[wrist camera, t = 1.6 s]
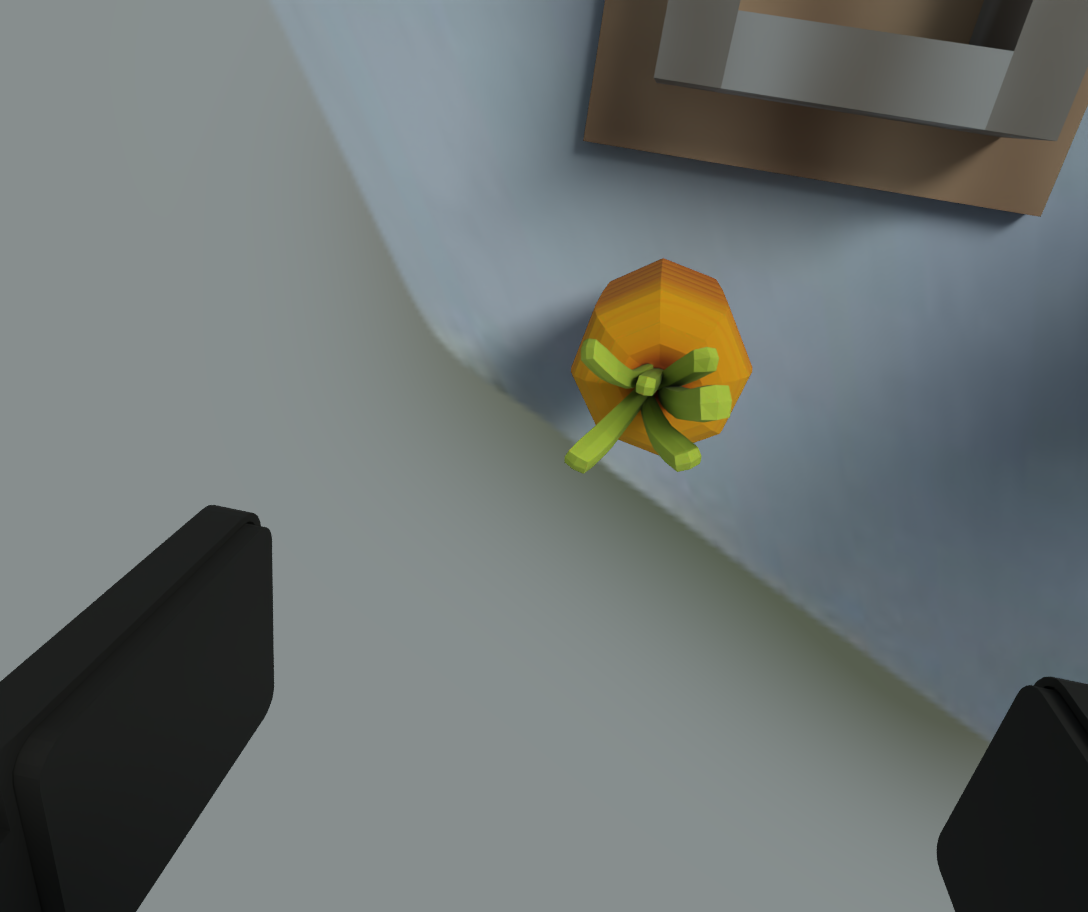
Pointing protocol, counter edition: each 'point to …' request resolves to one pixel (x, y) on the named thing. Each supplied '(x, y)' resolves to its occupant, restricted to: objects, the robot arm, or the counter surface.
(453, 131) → the counter surface
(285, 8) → the counter surface
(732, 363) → the carrot
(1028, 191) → the docking stand
